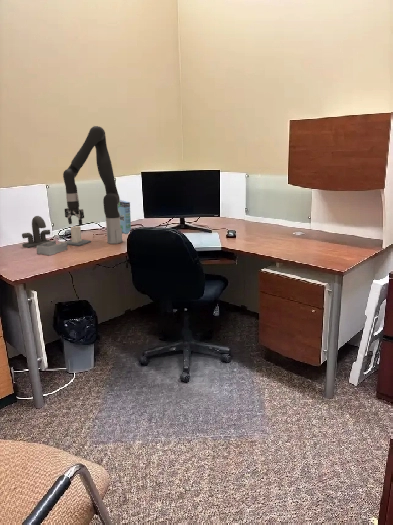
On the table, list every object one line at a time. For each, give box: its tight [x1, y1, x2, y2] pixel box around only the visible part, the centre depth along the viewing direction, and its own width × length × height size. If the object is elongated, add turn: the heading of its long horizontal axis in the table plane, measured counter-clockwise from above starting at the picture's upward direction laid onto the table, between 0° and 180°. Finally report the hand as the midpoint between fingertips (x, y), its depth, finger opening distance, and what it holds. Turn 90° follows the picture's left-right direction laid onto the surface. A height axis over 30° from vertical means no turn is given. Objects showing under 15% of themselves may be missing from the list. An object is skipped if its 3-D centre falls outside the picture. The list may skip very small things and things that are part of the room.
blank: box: [70, 225, 83, 243], centre depth 279 cm, size 5×4×10 cm
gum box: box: [118, 199, 132, 235], centre depth 310 cm, size 20×5×23 cm, turn 39°
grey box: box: [35, 239, 68, 256], centre depth 260 cm, size 10×15×5 cm
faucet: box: [21, 215, 51, 249], centre depth 272 cm, size 18×16×20 cm
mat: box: [65, 239, 92, 247], centre depth 280 cm, size 14×12×1 cm
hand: (75, 224), depth 277 cm, fingers open, 8 cm apart
